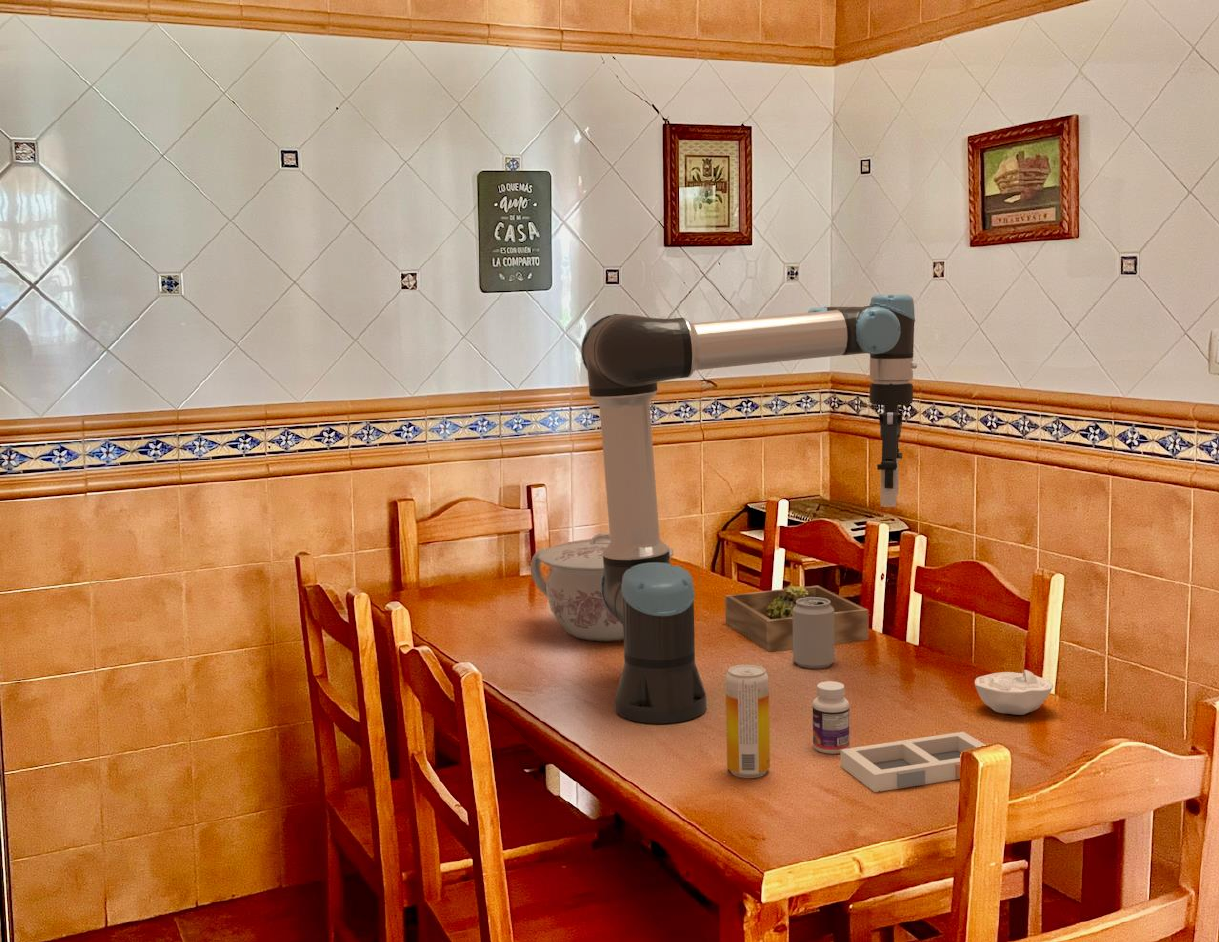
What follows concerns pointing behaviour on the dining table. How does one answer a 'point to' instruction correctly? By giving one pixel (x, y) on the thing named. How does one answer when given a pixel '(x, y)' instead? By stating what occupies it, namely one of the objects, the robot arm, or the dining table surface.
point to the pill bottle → (830, 718)
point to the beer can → (747, 721)
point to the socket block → (908, 761)
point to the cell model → (1013, 691)
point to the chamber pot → (578, 588)
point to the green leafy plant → (785, 603)
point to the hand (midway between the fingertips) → (889, 500)
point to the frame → (791, 618)
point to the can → (813, 633)
